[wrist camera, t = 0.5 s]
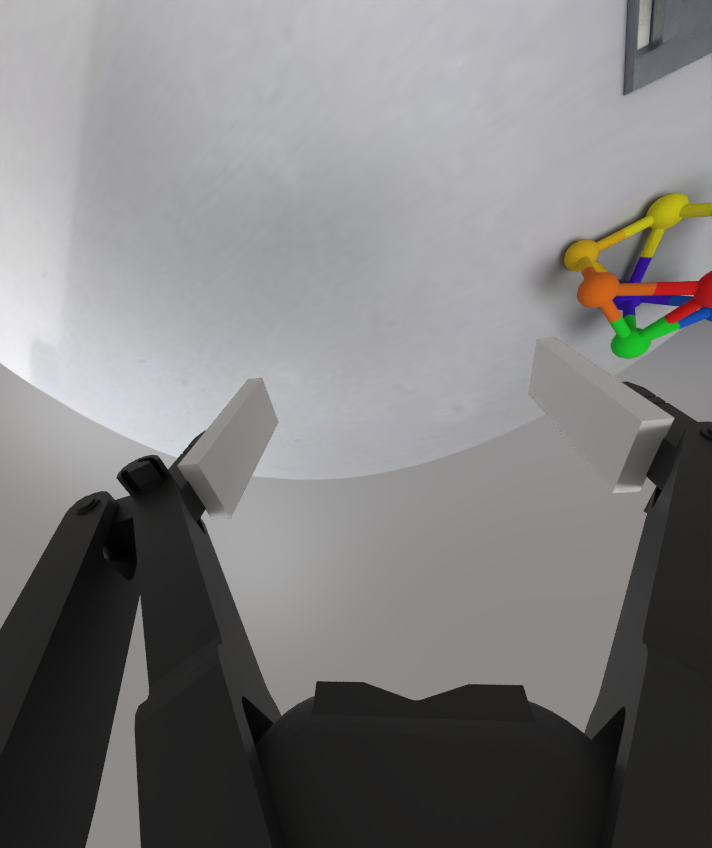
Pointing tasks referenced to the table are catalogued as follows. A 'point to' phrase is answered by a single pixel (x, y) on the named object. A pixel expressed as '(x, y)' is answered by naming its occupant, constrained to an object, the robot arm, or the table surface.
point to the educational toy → (626, 296)
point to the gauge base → (664, 38)
